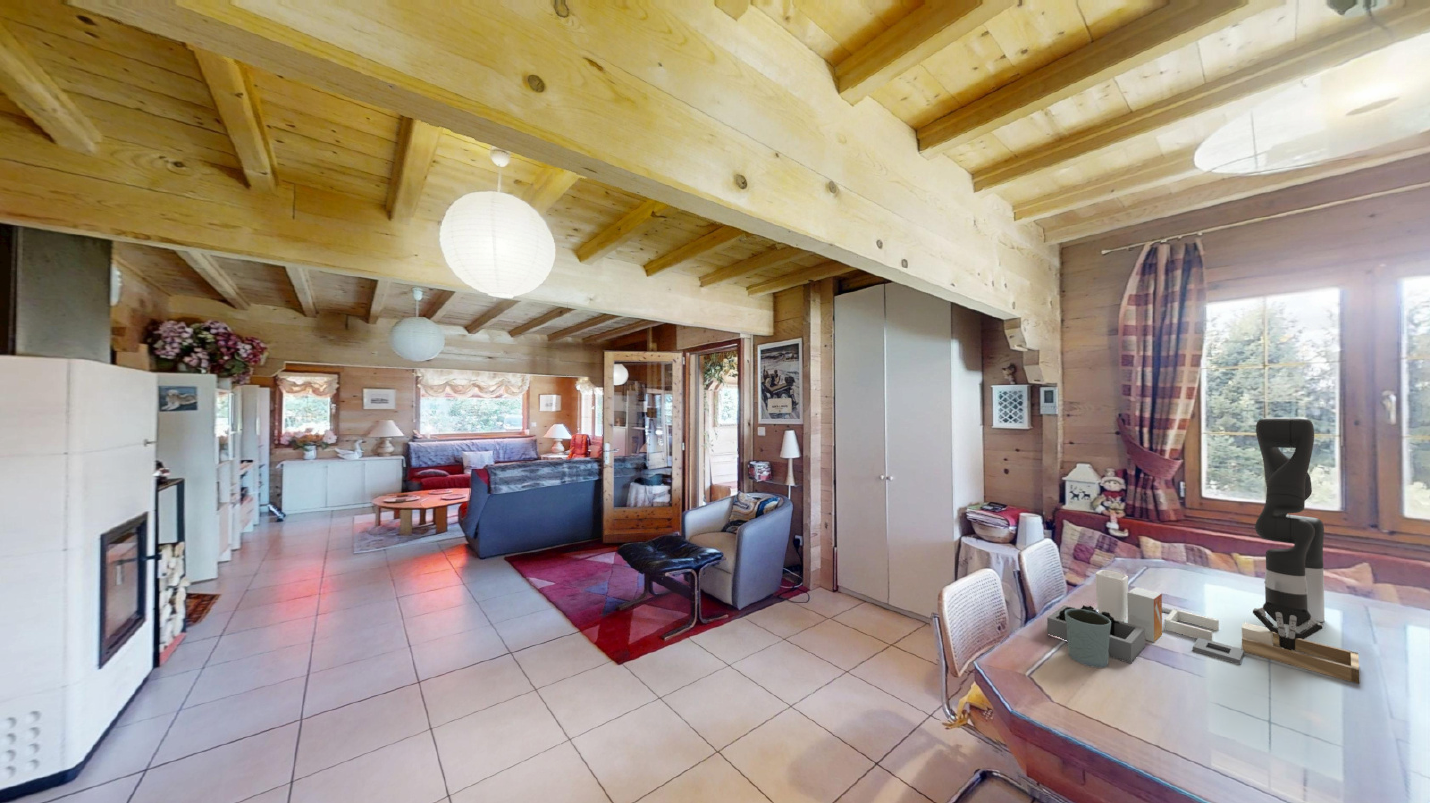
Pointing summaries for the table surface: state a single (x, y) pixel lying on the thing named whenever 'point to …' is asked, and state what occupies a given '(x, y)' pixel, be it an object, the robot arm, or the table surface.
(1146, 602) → the small box
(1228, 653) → the hole frame
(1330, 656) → the wooden u-shaped frame
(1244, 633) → the cream cube
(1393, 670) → the table surface
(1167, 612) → the crook tool
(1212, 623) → the cream bay
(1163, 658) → the table surface
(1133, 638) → the grey rectangular planter box
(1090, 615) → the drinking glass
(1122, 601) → the white rounded prism
